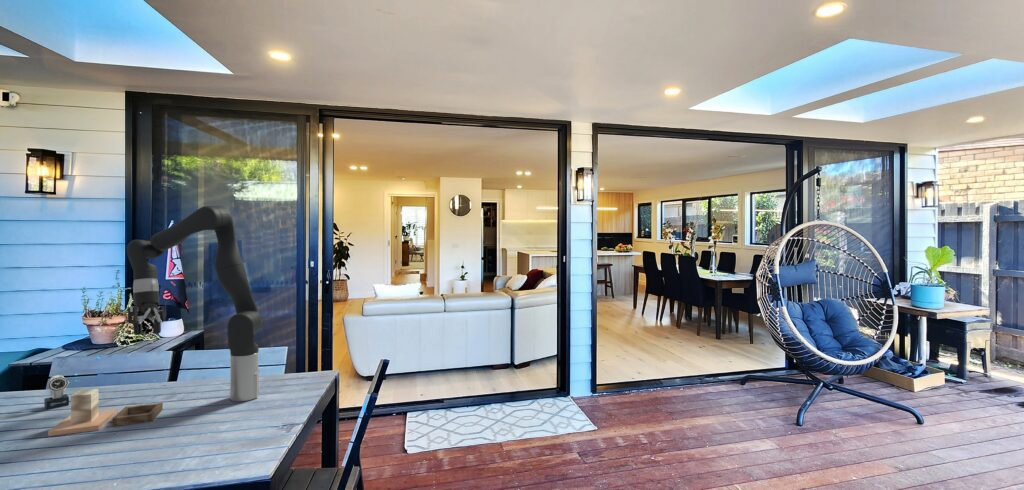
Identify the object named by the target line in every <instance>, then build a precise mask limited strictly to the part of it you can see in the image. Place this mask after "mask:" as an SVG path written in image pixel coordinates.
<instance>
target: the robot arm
mask: <svg viewBox="0 0 1024 490" xmlns="http://www.w3.org/2000/svg"><path fill="white" fill-rule="evenodd" d="M203 231H214V232H215V236H216V240H217V250H216V255H215V259H214V269H215V273H216V275H217V280H218V281H219V284H220V286H221V288H223V290H224V291H225V292H226V294H227V295H228V296H229V297H230V299H231V300H232V302H233V305H234V309H235V314H234V315H231V317H230V319H229V320H228V323H227V347H228V350H229V351H230V367H229V368H230V369H229V370H230V371H229V372H230V373H229V374H230V380H229V381H230V385H229V386H230V387H229V389H230V391H229V392H230V393H229V394H230V395H229V397H230V398H229V399H230V401H232V402H237V403H238V402H246V401H251V400H255V399H258V397H259V396H260V395H259V394H260V369H259V351H260V350H259V349H260V348H259V345H258V344H257V343H256V342H255V336H254V333H256V332H257V331H259V330H260V329H261V327H262V325H263V324H262V323H263V322H262V321H263V319H262V316H261V313H260V311H259V308H258V306H257V304H256V301H255V299H254V297H253V294H252V289H251V286H250V282H249V278H248V275H247V272H246V268H245V264H244V262H243V258H242V255H241V252H240V248H239V244H238V240H237V237H236V235H237V234H236V230H235V225H234V219H233V215H232V213H231V211H230V210H229V209H228V208H227V207H226V206H222V205H205V206H202V207H199V208H198V209H196V210H195V211H193V212H192V213H190V214H189V215H188V216H187V217H185V218H184V219H182V220H180V221H179V222H177V223H176V224H174V225H171V226H169V227H167V228H165V229H163V230H160V231H158V232H157V233H154V234H153V235H152V236H151V237H150V240H146V239H145V240H144V239H133V240H131V241H130V242H129V243H128V244H127V247H126V254H127V258H128V261H129V263H130V266H131V268H132V270H133V275H132V276H133V283H132V290H133V291H132V292H133V293H132V294H133V295H132V296H133V305H134V306H129V307H128V308H127V324H131V325H132V326H133V333H134V336H140V335H143V324H142V323H143V322H144V320H145V319H149V321H151V322H152V328H153V329H152V331H153V334H155V335H156V334H160V333H161V331H162V328H161V327H162V323H163V322H165V321H166V313H165V306H164V305H163V306H158V304H159V303H160V286H159V281H158V267H157V266H156V265H155V264H153V263H150V262H149V261H148V260H153V259H157V258H159V257H161V256H162V255H163V254H165V253H166V251H168V250H169V249H171V248H174V247H176V246H178V245H180V244H182V243H183V242H184V241H186V239H188V237H190V236H191V235H193V234H196V233H200V232H203Z"/></svg>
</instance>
